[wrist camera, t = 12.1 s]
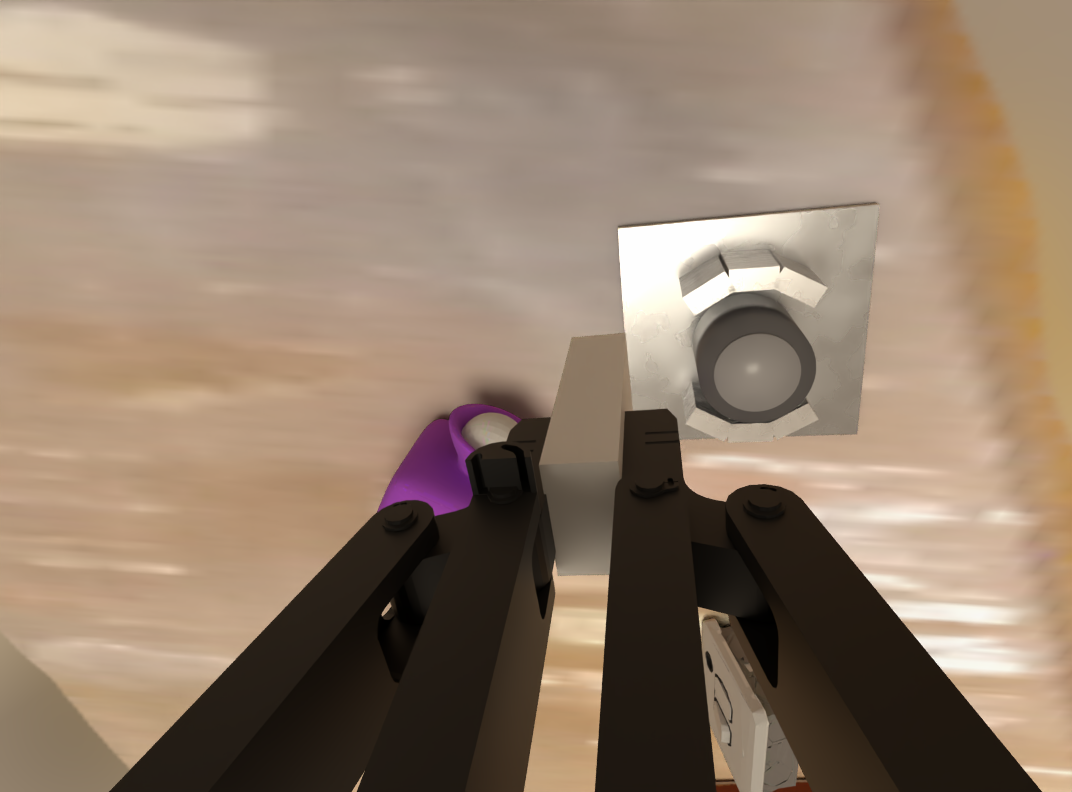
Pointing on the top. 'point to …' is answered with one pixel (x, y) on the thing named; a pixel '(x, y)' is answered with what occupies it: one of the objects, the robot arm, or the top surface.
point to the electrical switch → (743, 716)
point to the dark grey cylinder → (752, 359)
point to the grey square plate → (757, 268)
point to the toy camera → (447, 458)
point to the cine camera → (802, 788)
